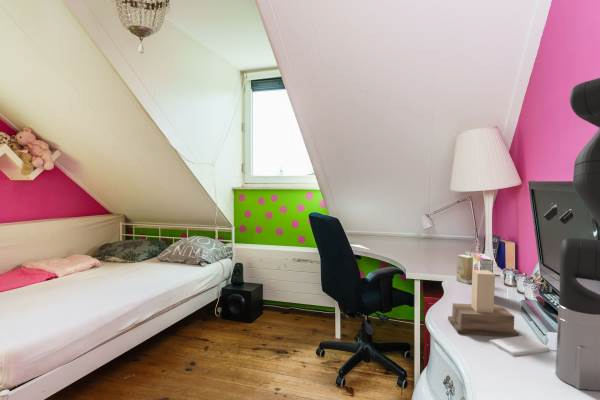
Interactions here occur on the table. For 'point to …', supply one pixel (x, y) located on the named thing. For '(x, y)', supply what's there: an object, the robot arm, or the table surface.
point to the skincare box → (464, 268)
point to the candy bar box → (482, 262)
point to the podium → (482, 321)
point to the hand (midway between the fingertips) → (553, 220)
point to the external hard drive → (519, 345)
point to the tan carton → (483, 291)
